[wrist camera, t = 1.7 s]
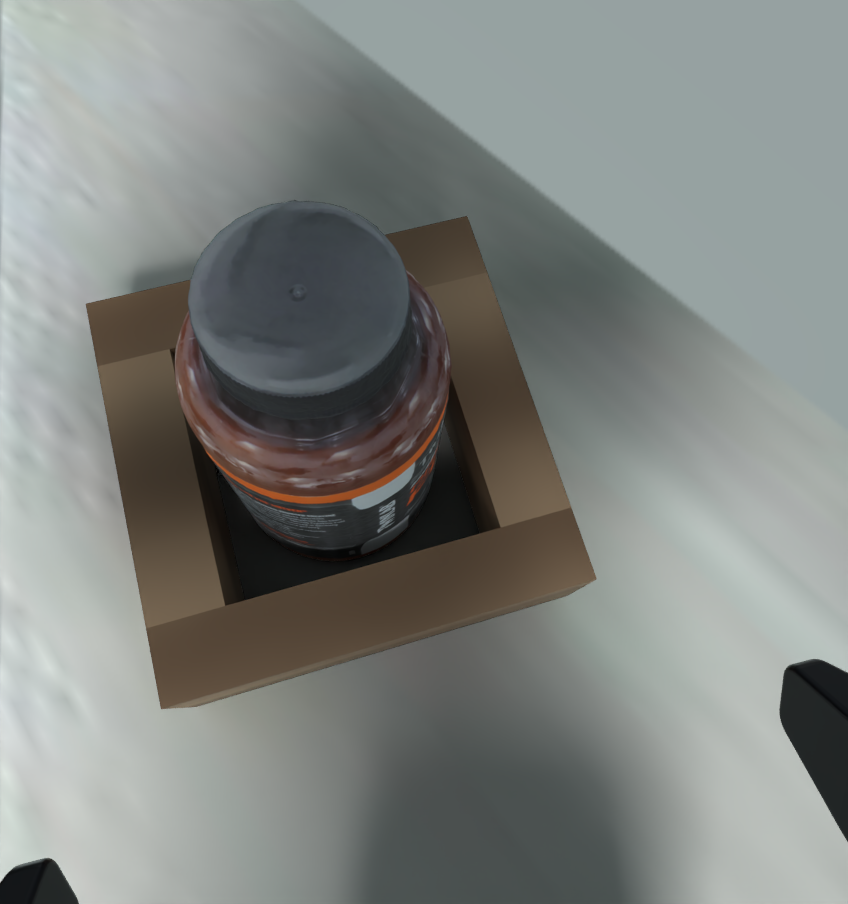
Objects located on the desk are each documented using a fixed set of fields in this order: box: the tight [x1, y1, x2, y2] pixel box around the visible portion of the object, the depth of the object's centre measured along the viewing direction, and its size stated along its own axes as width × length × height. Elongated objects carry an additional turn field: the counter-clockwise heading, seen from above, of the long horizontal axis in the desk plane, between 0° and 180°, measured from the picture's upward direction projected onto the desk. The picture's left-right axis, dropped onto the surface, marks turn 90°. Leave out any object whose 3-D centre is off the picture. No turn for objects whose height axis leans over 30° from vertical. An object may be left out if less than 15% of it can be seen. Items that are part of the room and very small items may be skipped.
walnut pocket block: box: [86, 216, 596, 709], centre depth 23 cm, size 11×11×4 cm
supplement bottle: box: [175, 200, 452, 561], centre depth 19 cm, size 6×6×11 cm
